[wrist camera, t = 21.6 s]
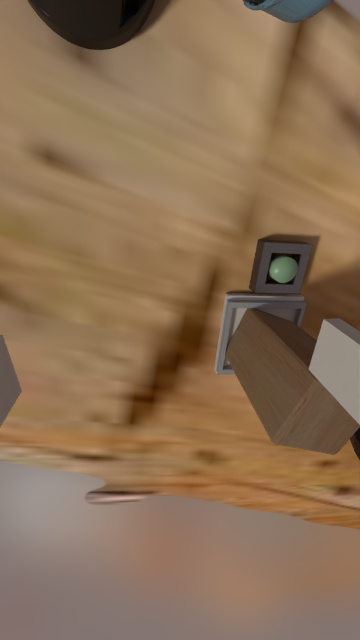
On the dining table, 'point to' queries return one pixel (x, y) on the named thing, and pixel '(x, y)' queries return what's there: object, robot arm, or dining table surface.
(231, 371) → the shallow gray tray
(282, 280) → the button
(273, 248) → the button housing
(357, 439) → the ceramic vessel
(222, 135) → the dining table surface
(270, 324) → the wooden block
